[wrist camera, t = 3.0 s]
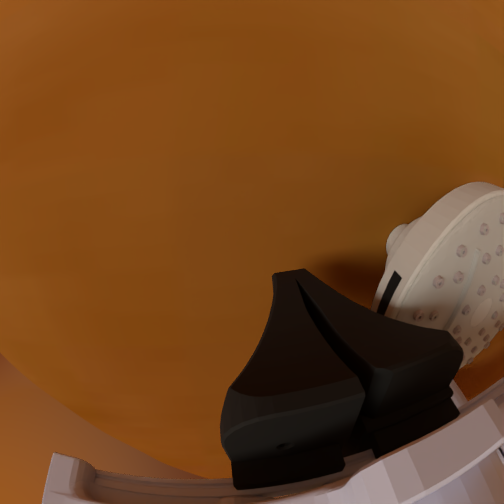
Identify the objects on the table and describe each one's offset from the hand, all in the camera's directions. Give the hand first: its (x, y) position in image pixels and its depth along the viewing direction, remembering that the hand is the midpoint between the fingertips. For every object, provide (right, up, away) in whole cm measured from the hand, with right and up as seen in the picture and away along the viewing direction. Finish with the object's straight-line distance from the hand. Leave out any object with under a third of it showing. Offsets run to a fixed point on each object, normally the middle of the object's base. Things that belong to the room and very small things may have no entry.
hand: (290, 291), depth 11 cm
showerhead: (+7, +2, +3) cm, 8 cm away
